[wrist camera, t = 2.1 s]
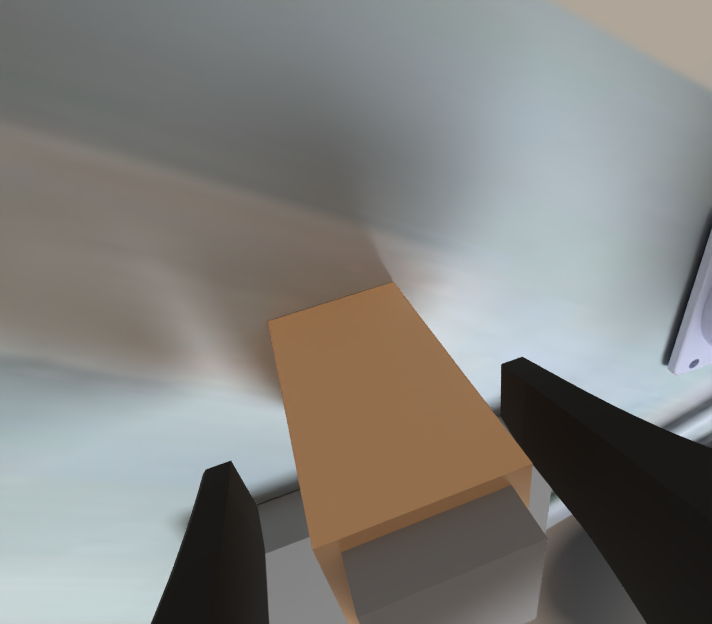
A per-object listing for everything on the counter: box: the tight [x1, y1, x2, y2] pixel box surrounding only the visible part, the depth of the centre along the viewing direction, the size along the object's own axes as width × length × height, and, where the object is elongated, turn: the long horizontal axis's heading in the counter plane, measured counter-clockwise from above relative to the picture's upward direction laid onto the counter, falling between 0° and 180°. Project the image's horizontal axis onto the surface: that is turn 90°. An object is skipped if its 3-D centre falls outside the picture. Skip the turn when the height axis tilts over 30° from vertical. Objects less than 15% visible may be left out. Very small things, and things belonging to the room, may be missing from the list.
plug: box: [268, 282, 548, 624], centre depth 11 cm, size 4×4×8 cm
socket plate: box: [257, 416, 551, 624], centre depth 20 cm, size 14×14×2 cm
